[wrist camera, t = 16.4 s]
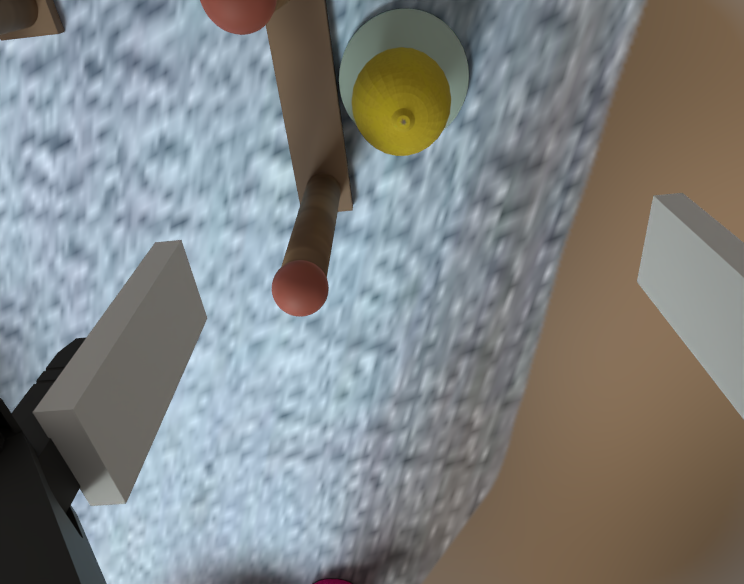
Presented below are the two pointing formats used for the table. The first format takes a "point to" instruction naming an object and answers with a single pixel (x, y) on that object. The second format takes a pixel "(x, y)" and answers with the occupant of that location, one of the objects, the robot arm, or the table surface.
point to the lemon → (401, 101)
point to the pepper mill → (332, 581)
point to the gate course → (301, 117)
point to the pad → (409, 33)
